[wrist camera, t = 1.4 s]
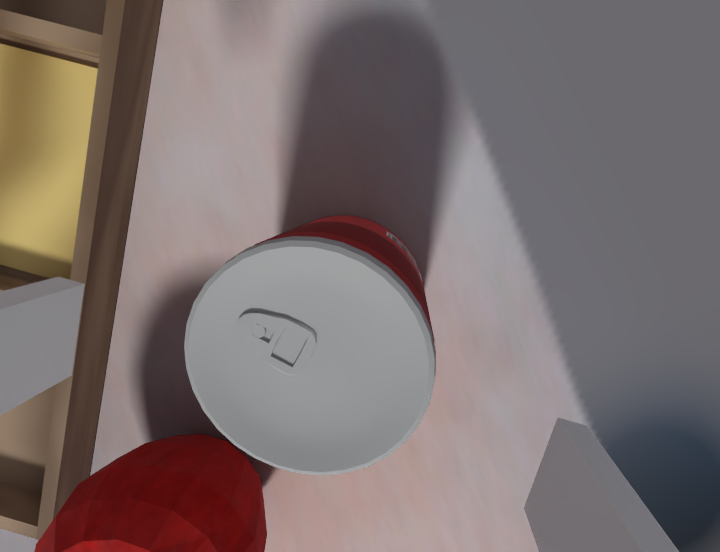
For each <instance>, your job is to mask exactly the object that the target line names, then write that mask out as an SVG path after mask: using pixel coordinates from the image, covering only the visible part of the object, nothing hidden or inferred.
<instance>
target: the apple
mask: <svg viewBox="0 0 720 552" xmlns="http://www.w3.org/2000/svg"><path fill="white" fill-rule="evenodd" d="M266 537H267V531H266V520H265V510H264V499H263V493H262V486H261V480H260V476H259V475H258V473H257V472H256V470H255V469H254V467H253V466H252V465H251V463H250V462H249V460H248V459H247V457H246V456H245V455H243V454H242V453H241V452H240V451H238V450H237V449H236V448H235V447H234V446H232V445H231V444H230V443H229V442H227V441H226V440H222V439H218V438H215V437H211V436H207V435H203V434H194V435H177V436H173V437H169V438H165V439H161V440H157V441H153V442H149V443H145V444H143V445H141V446H140V447H138V448H136V449H134V450H132V451H130V452H128V453H127V454H125V455H123V456H121V457H119V458H117V459H116V460H114V461H113V462H111V463H110V464H108V465H107V466H105V467H104V468H102V469H100V470H99V471H97V472H96V473H94V474H93V475H91V476H90V477H88V478H87V479H85V480H84V481H82V482H81V483H79V484H78V485H77V486H76V488H75V489H74V491H73V492H72V493H71V495H70V496H69V498H68V499H67V501H66V502H65V504H64V505H63V506H62V508H61V509H60V511H59V512H58V514H57V515H56V517H55V518H54V519H53V521H52V522H51V524H50V525H49V527H48V528H47V530H46V531H45V532H44V534H43V535H42V537H41V538H40V540H39V541H38V543H37V544H36V548H35V552H264V550H265V543H266Z"/></svg>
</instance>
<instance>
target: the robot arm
mask: <svg viewBox="0 0 720 552" xmlns="http://www.w3.org/2000/svg"><path fill="white" fill-rule="evenodd" d="M84 285H85V284H83V283H80V282H76V281H73V280H69V279H66V278H62V277H55V278H51V279H47V280H43V281H39V282H36V283H32V284H28V285H24V286H20V287H16V288H13V289H9V290H5V291H1V292H0V415H2V414H4V413H6V412H7V411H9V410H11V409H13V408H15V407H16V406H18V405H20V404H22V403H23V402H25V401H27V400H29V399H31V398H32V397H34V396H36V395H38V394H39V393H41V392H43V391H45V390H47V389H48V388H50V387H52V386H54V385H56V384H57V383H59V382H61V381H63V380H64V379H66V378H68V377H70V376H72V371H73V364H74V356H75V349H76V342H77V335H78V328H79V321H80V314H81V306H82V299H83V292H84ZM524 509H525V512H526V515H527V518H528V521H529V523H530V526H531V529H532V532H533V535H534V538H535V541H536V543H537V546H538V549H539V552H679V551H678V550H677V548H676V547H675V546H674V544H673V543H672V542H671V540H670V539H669V538H668V536H667V535H666V533H665V532H664V531H663V529H662V528H661V527H660V525H659V524H658V523H657V521H656V520H655V518H654V517H653V516H652V514H651V513H650V512H649V510H648V509H647V507H646V506H645V505H644V503H643V502H642V501H641V499H640V498H639V497H638V495H637V494H636V492H635V491H634V490H633V488H632V487H631V485H630V484H629V483H628V482H627V480H626V479H625V477H624V476H623V474H622V473H621V472H620V470H619V469H618V468H617V466H616V465H615V464H614V462H613V461H612V459H611V458H610V457H609V455H608V454H607V453H606V451H605V450H604V448H603V447H602V446H601V444H600V443H599V442H598V440H597V439H596V438H595V436H594V435H593V433H592V432H591V431H590V429H589V428H588V427H587V426H586V425H582V424H579V423H575V422H572V421H568V420H565V419H561V418H557V421H556V424H555V426H554V429H553V432H552V434H551V437H550V440H549V442H548V445H547V448H546V450H545V453H544V456H543V458H542V461H541V464H540V466H539V469H538V472H537V475H536V477H535V480H534V483H533V485H532V488H531V491H530V493H529V496H528V499H527V501H526V504H525V507H524Z"/></svg>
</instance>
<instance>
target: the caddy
mask: <svg viewBox="0 0 720 552" xmlns="http://www.w3.org/2000/svg"><path fill="white" fill-rule="evenodd" d="M162 3H163V0H0V292H1V291H5V290H9V289H13V288H16V287H20V286H24V285H28V284H32V283H36V282H39V281H43V280H47V279H51V278H55V277H62V278H66V279H69V280H73V281H76V282H80V283H83V284H85V285H84V292H83V299H82V306H81V314H80V321H79V328H78V335H77V342H76V349H75V356H74V364H73V371H72V376H70V377H68V378H66V379H64V380H63V381H61V382H59V383H57V384H56V385H54V386H52V387H50V388H48V389H47V390H45V391H43V392H41V393H39V394H38V395H36V396H34V397H32V398H31V399H29V400H27V401H25V402H23V403H22V404H20V405H18V406H16V407H15V408H13V409H11V410H9V411H7V412H6V413H4V414H2V415H0V528H2V529H5V530H8V531H12V532H15V533H18V534H22V535H25V536H28V537H32V538H35V539H38V540H40V538H41V537H42V535H43V534H44V532H45V531H46V530H47V528H48V527H49V525H50V524H51V522H52V521H53V519H54V518H55V517H56V515H57V514H58V512H59V511H60V509H61V508H62V506H63V505H64V504H65V502H66V501H67V499H68V498H69V496H70V495H71V493H72V492H73V491H74V489H75V488H76V486H77V485H78V484H79V483H81V482H82V481H84V480H85V479H87V478H88V477H90V470H91V464H92V457H93V451H94V444H95V438H96V431H97V425H98V418H99V412H100V405H101V399H102V392H103V386H104V379H105V373H106V366H107V360H108V353H109V347H110V340H111V334H112V328H113V321H114V315H115V308H116V302H117V295H118V289H119V282H120V276H121V269H122V263H123V256H124V250H125V243H126V237H127V230H128V224H129V217H130V211H131V204H132V198H133V191H134V185H135V178H136V172H137V165H138V159H139V152H140V146H141V139H142V133H143V126H144V120H145V113H146V107H147V100H148V94H149V87H150V81H151V74H152V68H153V61H154V55H155V49H156V42H157V36H158V29H159V23H160V16H161V10H162Z"/></svg>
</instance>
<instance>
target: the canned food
mask: <svg viewBox="0 0 720 552" xmlns="http://www.w3.org/2000/svg"><path fill="white" fill-rule="evenodd" d="M184 351H185V361H186V369H187V373H188V376H189V379H190V383H191V386H192V390H193V392H194V394H195V396H196V398H197V399H198V401H199V403H200V405H201V407H202V409H203V411H204V412H205V414H206V415H207V416H208V418H209V419H210V420H211V421H212V423H213V424H214V425H215V427H216V428H217V429H218V430H219V431H220V432H221V433H222V434H223V435H224V436H225V437H226V438H227V439H229V440H230V441H231V442H232V443H233V444H234V445H235V446H237V447H238V448H240V449H241V450H243V451H244V452H246V453H247V454H249V455H250V456H252V457H254V458H255V459H257V460H260V461H262V462H264V463H267V464H269V465H271V466H273V467H276V468H279V469H283V470H287V471H291V472H295V473H299V474H311V475H332V474H342V473H348V472H352V471H355V470H358V469H362V468H365V467H368V466H370V465H372V464H374V463H376V462H378V461H380V460H382V459H383V458H385V457H387V456H389V455H390V454H391V453H393V452H394V451H395V450H396V449H397V448H399V447H400V446H401V445H402V444H403V443H405V442H406V441H407V439H408V438H409V437H410V436H411V434H412V433H413V432H414V430H415V429H416V428H417V427H418V425H419V424H420V422H421V420H422V418H423V416H424V414H425V412H426V410H427V407H428V405H429V403H430V399H431V394H432V390H433V386H434V379H435V370H436V351H435V345H434V336H433V331H432V326H431V321H430V317H429V312H428V307H427V302H426V297H425V292H424V287H423V282H422V277H421V272H420V270H419V268H418V265H417V263H416V260H415V258H414V257H413V255H412V254H411V252H410V251H409V249H408V248H407V246H406V245H405V244H404V243H403V242H402V241H401V240H400V239H399V238H398V237H397V236H396V235H395V234H393V233H392V232H390V231H389V230H388V229H386V228H385V227H383V226H382V225H379V224H377V223H375V222H372V221H370V220H368V219H364V218H359V217H355V216H339V215H335V216H330V217H324V218H320V219H317V220H315V221H312V222H309V223H307V224H304V225H302V226H299V227H297V228H294V229H292V230H289V231H287V232H285V233H282V234H280V235H277V236H275V237H272V238H270V239H267V240H265V241H262V242H260V243H257V244H255V245H254V246H252V247H250V248H247V249H245V250H244V251H242V252H241V253H239V254H238V255H236V256H235V257H233V258H232V259H230V260H229V261H227V262H226V263H225V264H224V265H223V266H222V267H221V268H220V269H219V270H218V271H217V272H216V273H215V274H214V275H213V276H212V277H211V278H210V279H209V280H208V281H207V282H206V283H205V285H204V286H203V288H202V290H201V291H200V293H199V295H198V296H197V298H196V299H195V301H194V303H193V306H192V309H191V312H190V315H189V318H188V321H187V324H186V333H185V342H184Z"/></svg>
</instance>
